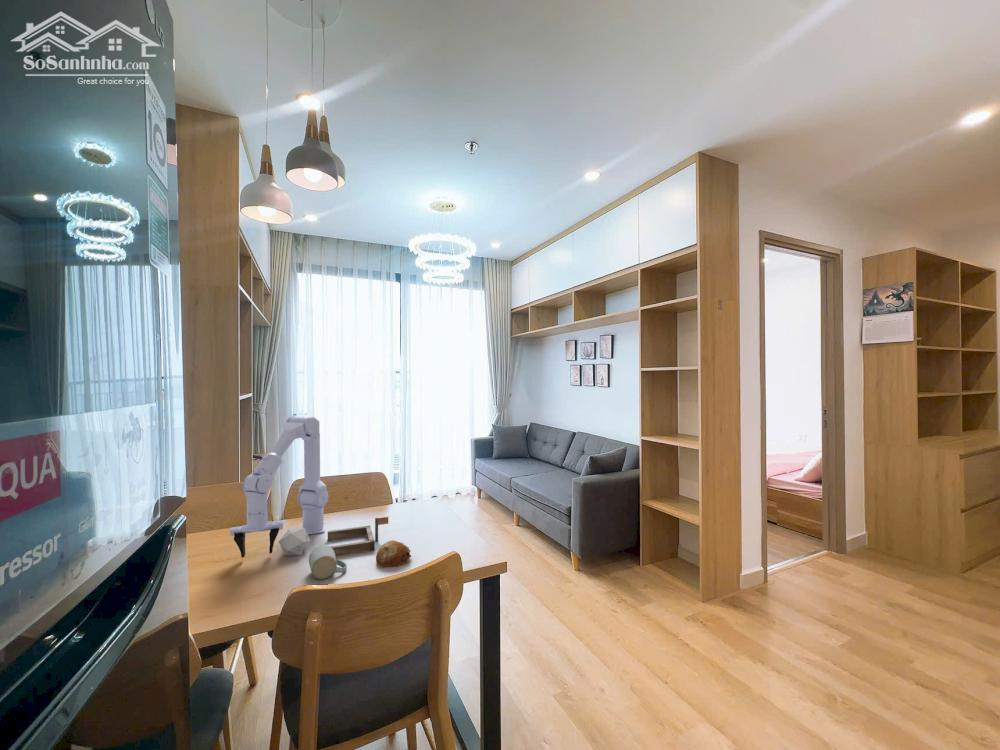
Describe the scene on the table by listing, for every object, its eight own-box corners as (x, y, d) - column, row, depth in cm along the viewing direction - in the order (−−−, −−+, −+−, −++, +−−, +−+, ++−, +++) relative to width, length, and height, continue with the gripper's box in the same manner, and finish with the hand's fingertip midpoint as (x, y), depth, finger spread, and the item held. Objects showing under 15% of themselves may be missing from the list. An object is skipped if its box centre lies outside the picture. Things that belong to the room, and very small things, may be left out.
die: (289, 563, 131) (309, 535, 134) (268, 548, 133) (288, 520, 136) (300, 561, 139) (319, 535, 142) (280, 547, 141) (299, 521, 143)
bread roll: (388, 564, 137) (377, 542, 137) (416, 551, 137) (405, 529, 137) (378, 580, 127) (367, 555, 127) (408, 565, 127) (397, 541, 127)
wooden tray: (327, 539, 149) (327, 517, 149) (385, 531, 156) (385, 510, 156) (327, 557, 134) (327, 532, 134) (391, 547, 142) (391, 524, 142)
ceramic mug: (311, 583, 118) (311, 557, 118) (308, 571, 124) (308, 547, 125) (349, 575, 123) (349, 550, 123) (344, 564, 130) (344, 540, 130)
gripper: (227, 518, 127) (228, 563, 127) (281, 512, 132) (281, 555, 132) (232, 511, 133) (232, 554, 133) (283, 506, 139) (283, 546, 139)
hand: (257, 554), depth 133 cm, fingers open, 7 cm apart
